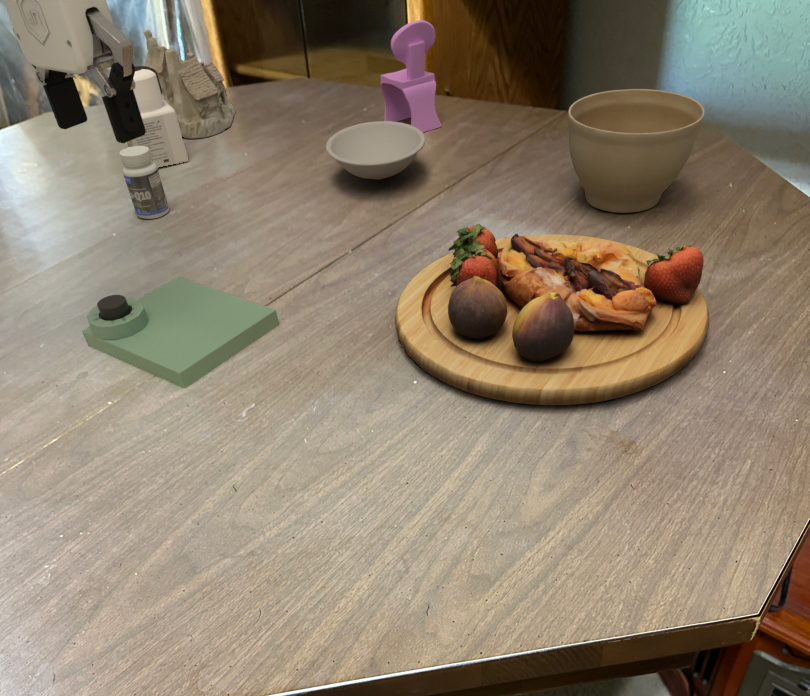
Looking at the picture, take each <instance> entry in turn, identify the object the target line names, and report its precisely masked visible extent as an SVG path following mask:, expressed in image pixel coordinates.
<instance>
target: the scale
mask: <svg viewBox="0 0 810 696" xmlns="http://www.w3.org/2000/svg"><path fill="white" fill-rule="evenodd" d="M125 298H126V297H125ZM126 301H127V303H128V306H129V309H130V314H129V315H127V316H125V317H123V318H121V319H117V320H113V321H105V320H103V318H102V316H101V314H100V311H99V309H98V306H97V305H96V306H94V307H93V308H92V309H91V310H90V311H89V313H87V315H86V318H87V322H88V325H89V326H88V327H86V328H85V329H83V330H81V333H82V335H83V337H84V339H85V342H86V344H87V346H88V347H90V348H93V349H95V350H97V351H99V352H101V353H103V354H106V355H108V356H110V357H113V358H115V359H117V360H119V361H122V362H124V363H126V364H128V365H131V366H132V367H136V368H137V369H139V370H142V371H145V372H147V373H148V374H151V375H154V376H156V377H158V378H160V379H163V380H165V381H167V382H169V383H171V384H174V385H176V386H178V387H181V388H183V389H186V388H188V387H189V386H191V385H192V384H194V383H195V382H196V381H197V382H198V380H200V379H201V378H203V377H204V376H207V374H209V373H210V372H212V371H213V370H215V369H216V368H218V367H219V366H220V365H222V364H223V363H225V362H226V361H228V360H229V359H231V358H233V357H234V356H236V355H237V354H239V353H240V352H241V351H243V350H244V349H246V348H247V347H249V346H250V345H252V344H253V343H255V342H256V341H258V340H259V339H261V338H262V337H263V336H265V335H267V334H268V333H269V332H271V331H272V330H274V329H276V327H278V326H280V322H279V318H278V317H279V316H278V313H277V310H276V309H275V308H273V307H269V306H266V305H264V304H260V303H257V302H254V301H252V300H249V299H245V298H243V297H239V296H237V295H234V294H231V293H229V292H225V291H222V290H220V289H216V288H213V287H211V286H208V285H204V284H202V283H199V282H195V281H193V280H189V279H186V278H184V277H182V276H177V277H175V278H173V279H171V280H169V281H168V282H165V283H164V284H162V285H161V286H159V287H157V288H155V289H154V290H152V291H150V292H148V293H146V294H144V295H143V296H141V297H139V298H138V299H135V298H133V297H127V298H126Z"/></svg>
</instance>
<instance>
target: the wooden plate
mask: <svg viewBox="0 0 810 696" xmlns="http://www.w3.org/2000/svg"><path fill="white" fill-rule="evenodd" d="M456 233H457V236H458V238H456V239H455V240H453V245H451V246H449V248H448V250H447V252H449V251H453V252H451V253H448V254H446V255H444V256H442V257H440V258H438V259H436V260H434V261H433V262H430V263H429V264H428V265H426V266H425V267H424V268H422V269H421V270H420V271H419V272H418V273H417V274H416V275H414V277H413V278H412V279H410V280H409V282H408V283H407V285H406V286H405V288H404V289H403V290H402V292H401V294H400V296H399V298H398V300H397V303H396V308H395V313H394V325H395V331H396V335H397V338H398V339H399V342H400V344H401V346H402V347H403V348H404V351H405V352H406V353H407V354H408V356H409V358H411V359H412V360H413V361H414V362H415V363H416V364H417V365H418V366H419V367H420V368H422V369H423V370H424V371H425V372H426V373H428V374H430V375H431V376H433V377H434V378H436V379H438V380H440V381H441V382H443V383H445V384H447V385H450V386H452V387H454V388H456V389H459V390H462V391H464V392H467V393H469V394H474V395H477V396H481V397H484V398H488V399H492V400H496V401H497V400H498V401H503V402H508V403H509V402H510V403H516V404H525V405H538V406H570V405H572V406H573V405H582V404H584V405H585V404H591V403H601V402H605V401H609V400H614V399H617V398H622V397H626V396H628V395H632V394H635V393H638V392H641V391H644V390H645V389H648V388H650V387H652V386H656V385H657V384H660V383H662V382H664V381H665V380H667V379H669V378H670V377H671V376H673V375H675V374H677V373H678V372H679V371H680V370H682V369H683V368H684V367H686V365H688V364H689V362H691V361H692V359H693V358H694V357H695V356H696V354H697V353H698V352H699V351H700V350H701V348H702V346H703V345H704V342H705V339H706V337H707V334H708V332H709V327H710V312H709V311H710V310H709V307H708V303H707V301H706V298H705V296H704V294H703V293H702V291H701V290H700V288H699V285H700V283H701V280H702V276H703V269H704V263H705V262H704V255H703V253H702V250H700V249H699V248H698V247H695V246H692V244H689V245H684V244H682V246H681V247H680V246H675V249H670V248H669V247H668V248H667V249H668V251H667V252H666V253H667V255H660V254H659V253H656V254H654V253H652V252H650V251H647V250H644V249H641V248H639V247H636V246H633V245H630V244H626V243H623V242H619V241H615V240H610V239H604V238H600V237H599V238H598V237H593V236H587V235H586V236H585V235H576V234H575V235H573V234H553V233H551V234H527V235H524V234H523V235H519V234H518V233H514V235H513V236H509V237H501V238H496V237H495V235H494V233H493V232H492V231H491V230H490V229H488V228H487V227H486V226H483V225H481V224H480V223H477V224H475V225H471V226H470V227H468V226H466V227H465V226H464V227H463V228H459V229H458V230H456Z"/></svg>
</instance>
